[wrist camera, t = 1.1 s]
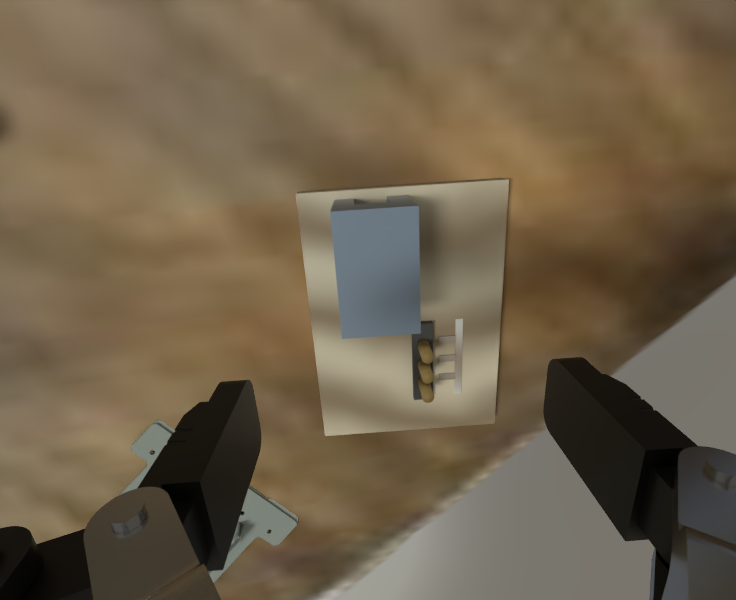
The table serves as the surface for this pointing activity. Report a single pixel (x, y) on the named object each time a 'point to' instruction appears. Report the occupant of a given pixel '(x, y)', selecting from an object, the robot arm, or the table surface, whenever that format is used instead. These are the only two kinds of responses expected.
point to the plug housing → (377, 266)
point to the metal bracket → (256, 507)
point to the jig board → (438, 313)
